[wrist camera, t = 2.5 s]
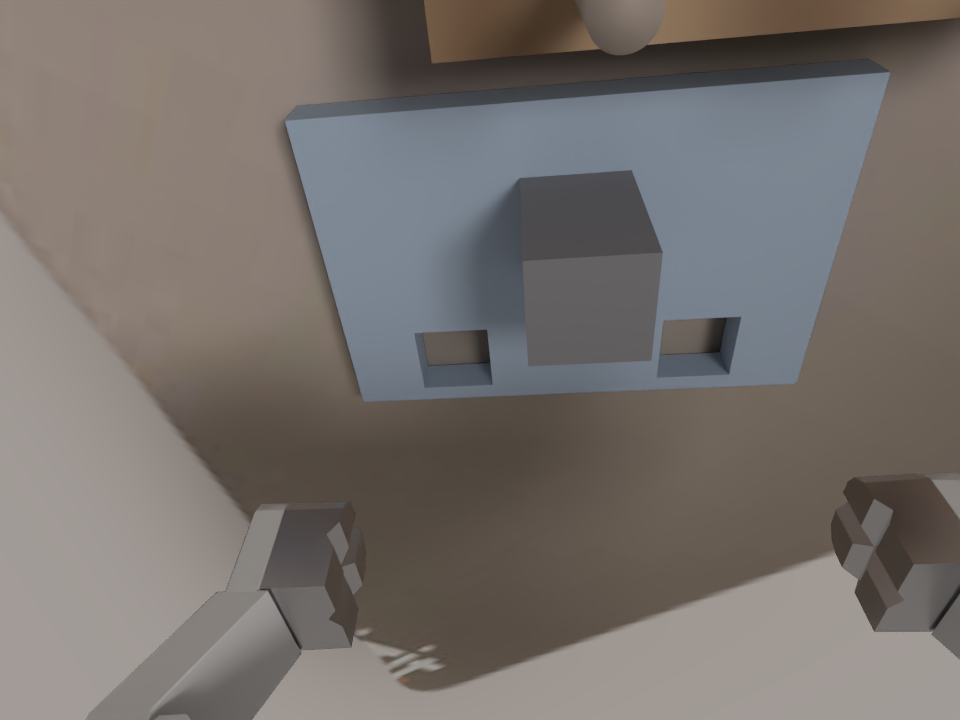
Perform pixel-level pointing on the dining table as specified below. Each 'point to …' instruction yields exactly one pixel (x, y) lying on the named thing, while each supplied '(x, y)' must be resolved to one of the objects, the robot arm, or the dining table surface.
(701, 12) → the wooden box with pegs
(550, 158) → the grey peg base plate
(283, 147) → the dining table surface
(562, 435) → the dining table surface
